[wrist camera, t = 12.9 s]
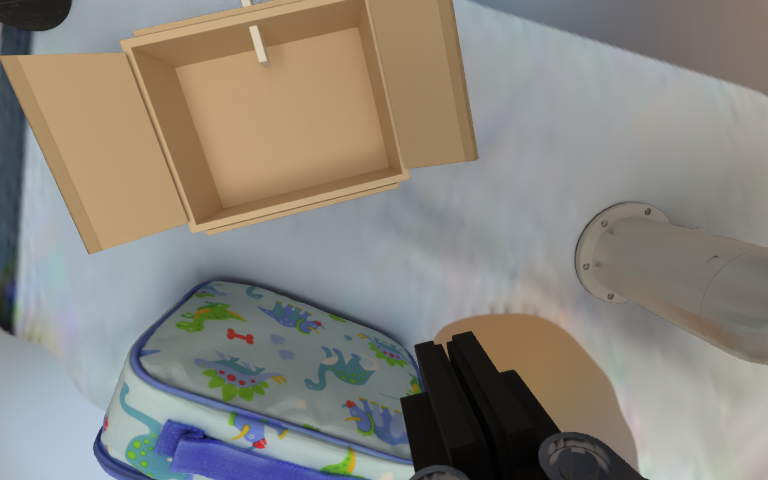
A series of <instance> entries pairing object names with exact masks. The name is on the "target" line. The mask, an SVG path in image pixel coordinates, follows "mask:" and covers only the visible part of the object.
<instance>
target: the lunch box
mask: <svg viewBox="0 0 768 480" xmlns="http://www.w3.org/2000/svg"><path fill="white" fill-rule="evenodd" d="M421 392H424V387H423V383H422V378H421V374H420V371H419V368H418V366H417V364H416V362H415V360H414V358H413V356H412V355H411V354H410V353H409V352H408V351H407V350H406V349H404V348H403V347H402V346H401V345H399V344H398V343H397V342H395V341H394V340H392V339H391V338H389V337H388V336H386V335H385V334H383V333H381V332H379V331H376V330H374V329H371V328H368V327H365V326H362V325H359V324H356V323H353V322H351V321H348V320H345V319H343V318H340V317H337V316H335V315H332V314H329V313H327V312H324V311H322V310H319V309H317V308H314V307H312V306H310V305H307V304H304V303H301V302H298V301H295V300H293V299H290V298H288V297H285V296H282V295H280V294H277V293H274V292H271V291H268V290H266V289H263V288H259V287H256V286H251V285H245V284H238V283H231V282H223V281H208V282H204V283H201V284H199V285H197V286H196V287H194V288H193V289H192V290H190V291H189V292H188V293H187V294H185V295H184V297H182V298H181V299H180V300H179V301H178V302H177V303H176V304H175V305H174V306H172V307H171V308H170V309H169V310H168V311H167V312H166V313H164V314H163V315H162V316H161V317H160V318H159V319H158V320H157V321H156V322H155V323H154V324H153V325H152V326H151V327H149V328H148V329H147V330H146V331H145V332H144V333H143V334H142V335H141V336H140V337H139V338H138V339H137V340H136V342H135V343H134V344H133V346H132V347H131V349H130V350H129V352H128V355H127V357H126V360H125V363H124V367H123V369H122V371H121V374H120V377H119V380H118V383H117V386H116V389H115V391H114V394H113V397H112V400H111V402H110V404H109V406H108V409H107V411H106V414H105V417H104V422H103V426H102V427H101V429H100V430H99V433H98V435H97V437H96V440H95V442H94V446H93V450H94V455H95V456H96V458H97V460H98V462H99V464H100V465H101V467H102V468H103V469H104V470H105V472H107V473H108V474H109V475H110V476H112V477H114V478H115V479H118V480H409V479H410V478H411V477H412V476H413V475H414V474H415V471H414V466H413V461H412V456H411V451H410V447H409V442H408V437H407V432H406V427H405V422H404V417H403V412H402V407H401V403H400V398H401V397H405V396H409V395H413V394H417V393H421Z"/></svg>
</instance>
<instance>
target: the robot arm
mask: <svg viewBox="0 0 768 480" xmlns="http://www.w3.org/2000/svg"><path fill="white" fill-rule="evenodd" d="M575 260H576V270H577V274H578V277H579V279H580V281H581V283H582V285H583V286H584V287H585V288H586V290H587V291H588V292H590V293H591V294H592V295H594V296H596V297H597V298H599V299H601V300H603V301H606V302H610V303H627V302H633V303H635V304H637V305H639V306H641V307H642V308H644V309H646V310H648V311H650V312H652V313H654V314H656V315H657V316H659V317H661V318H663V319H665V320H667V321H669V322H670V323H672V324H674V325H676V326H678V327H680V328H682V329H683V330H685V331H687V332H689V333H691V334H693V335H695V336H696V337H698V338H700V339H702V340H704V341H706V342H708V343H710V344H711V345H713V346H715V347H717V348H719V349H721V350H723V351H725V352H727V353H728V354H730V355H733V356H735V357H737V358H739V359H742V360H745V361H749V362H753V363H758V364H764V365H768V248H767V247H762V246H758V245H754V244H750V243H746V242H742V241H738V240H734V239H730V238H726V237H721V236H717V235H713V234H709V233H707V230H706V229H705V228H704V227H702V226H701V227H696V228H693V229H689V228H685V227H680V226H676V225H672V224H671V222H670V221H669V219H668V218H667V216H666V215H665V214H664V213H662V212H661V211H660V210H659V209H657V208H655V207H653V206H650V205H646V204H641V203H635V202H633V203H623V204H619V205H615V206H613V207H611V208H609V209H607V210H605V211H604V212H602V213H601V214H599V215H598V216H597V217H596V218H595V219H594V220H593V221H592V222H591V223H590V224H589V225H588V227H587V228H586V230H585V231H584V233H583V235H582V237H581V239H580V241H579V244H578V247H577V251H576V259H575ZM414 347H415V352H416V356H417V361H418V365H419V370H420V374H421V378H422V383H423V387H424V392H421V393H417V394H413V395H409V396H405V397H401V398H400V403H401V407H402V412H403V417H404V422H405V427H406V432H407V437H408V442H409V447H410V451H411V456H412V461H413V466H414V471H415V474H414V475H413V476H412V477H411V478H410V479H409V480H648V479H646V478H644V477H642V476H641V475H640V474H639V473H638V472H637V471H636V470H635V469H633V468H632V467H631V466H630V465H629V464H628V463H627V462H625V460H623V459H622V458H621V457H620V456H619V455H618V454H617V453H616V452H614V451H613V450H612V449H611V448H610V447H609V446H608V445H606V444H605V443H603V442H602V441H600V440H599V439H597V438H595V437H593V436H590V435H588V434H584V433H579V432H562V433H561V431H560V430H559V429H558V427H557V426H556V425H555V423H554V422H553V420H552V419H551V418H550V416H549V415H548V414H547V413H546V411H545V410H544V408H543V407H542V406H541V404H540V403H539V402H538V400H537V399H536V398H535V396H534V395H533V394H532V392H531V391H530V390H529V388H528V387H527V385H526V384H525V383H524V382H523V380H522V379H521V377H520V376H519V375H518V374H517V372H516V371H515V370H509V371H505V372H501V373H499V372H498V371H497V369H496V367H495V366H494V364H493V363H492V362H491V360H490V358H489V357H488V356H487V354H486V352H485V351H484V349H483V348H482V346H481V345H480V343H479V342H478V340H477V339H476V337H475V336H474V335H473V333H472V332H471V331H469V332H465V333H461V334H457V335H453V336H452V341H450V342H447V349H448V354H449V359H450V361H449V359H448V357H447V355H446V353H445V350H444V348H443V346H442V344H438V345H435V344H434V342H433V341H428V342H424V343H420V344H416V345H414Z"/></svg>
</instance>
